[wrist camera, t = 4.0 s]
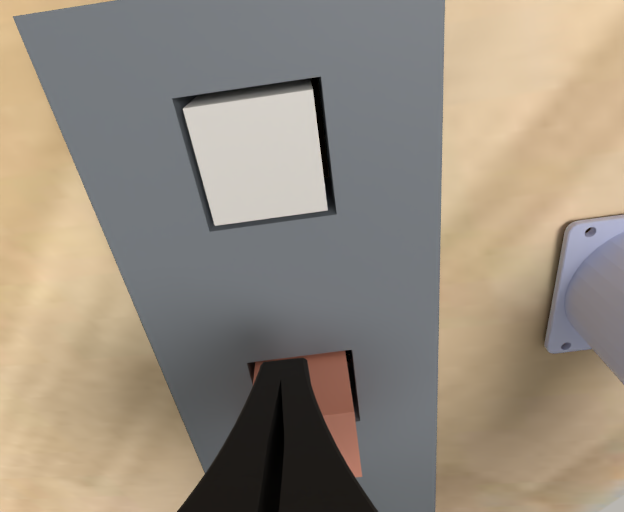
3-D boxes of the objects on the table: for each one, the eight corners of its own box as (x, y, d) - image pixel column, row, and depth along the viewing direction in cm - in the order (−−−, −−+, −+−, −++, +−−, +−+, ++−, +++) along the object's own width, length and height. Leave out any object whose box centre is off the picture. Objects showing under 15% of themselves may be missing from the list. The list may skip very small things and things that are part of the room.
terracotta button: (343, 340, 19) (354, 411, 16) (351, 401, 21) (362, 476, 18) (256, 351, 20) (248, 424, 16) (272, 410, 22) (267, 487, 18)
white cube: (308, 72, 16) (312, 89, 13) (321, 172, 18) (327, 210, 15) (205, 88, 17) (182, 108, 13) (229, 185, 19) (214, 225, 15)
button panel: (410, -37, 15) (445, -52, 12) (418, 496, 31) (434, 557, 27) (76, 15, 15) (12, 16, 12) (254, 514, 31) (248, 577, 28)
